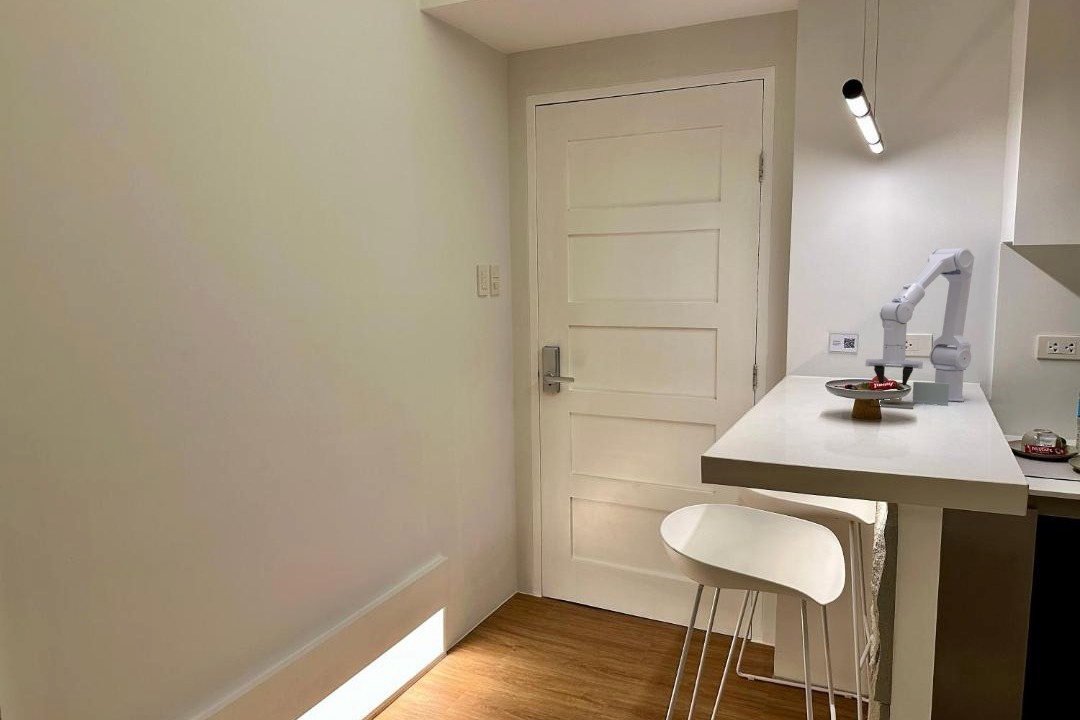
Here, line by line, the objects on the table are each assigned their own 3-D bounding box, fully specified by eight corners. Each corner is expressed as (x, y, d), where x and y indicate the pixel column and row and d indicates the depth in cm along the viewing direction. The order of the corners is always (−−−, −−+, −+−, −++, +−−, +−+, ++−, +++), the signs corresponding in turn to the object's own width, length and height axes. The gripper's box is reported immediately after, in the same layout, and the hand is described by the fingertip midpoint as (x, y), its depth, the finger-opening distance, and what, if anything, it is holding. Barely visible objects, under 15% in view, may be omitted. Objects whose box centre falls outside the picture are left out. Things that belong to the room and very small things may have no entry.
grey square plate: (872, 400, 222) (872, 399, 221) (914, 403, 216) (914, 401, 216) (869, 406, 212) (869, 404, 212) (912, 409, 207) (912, 407, 207)
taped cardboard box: (883, 397, 217) (884, 382, 216) (901, 398, 215) (902, 382, 214) (882, 400, 213) (883, 384, 212) (900, 401, 210) (901, 385, 210)
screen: (912, 401, 219) (913, 381, 218) (948, 403, 215) (949, 382, 214) (912, 403, 216) (913, 382, 215) (948, 405, 212) (949, 384, 211)
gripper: (865, 345, 212) (863, 393, 214) (922, 347, 205) (920, 396, 207) (867, 343, 218) (865, 389, 220) (923, 344, 212) (921, 392, 213)
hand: (892, 392), depth 214 cm, fingers closed on taped cardboard box, 5 cm apart
